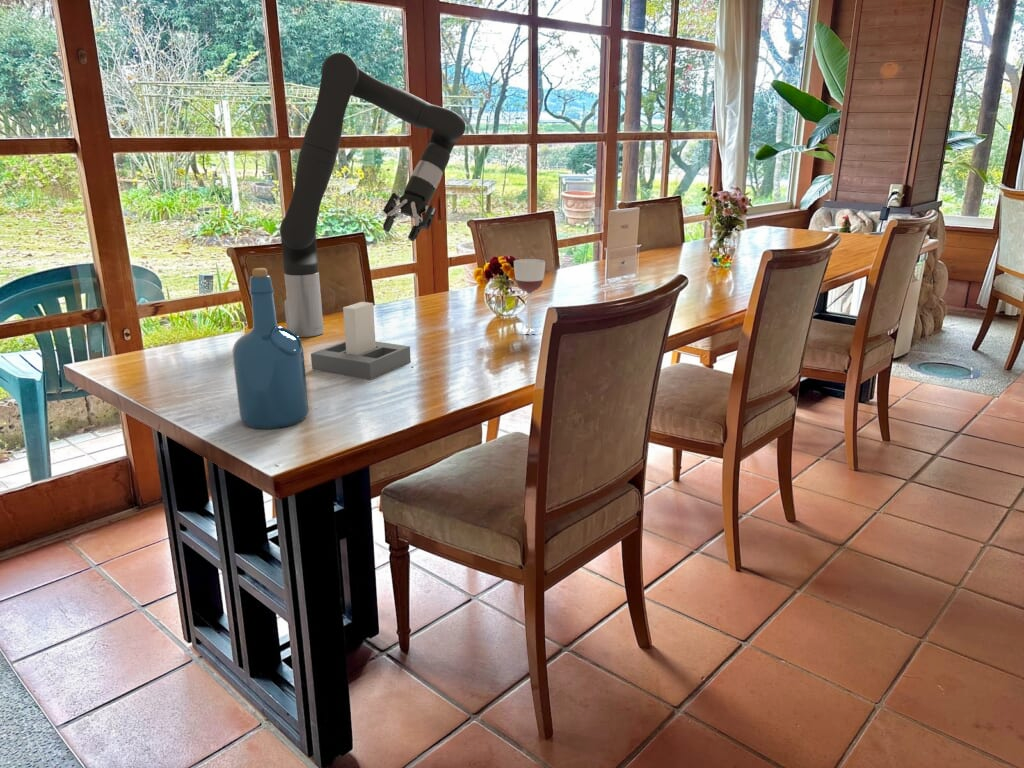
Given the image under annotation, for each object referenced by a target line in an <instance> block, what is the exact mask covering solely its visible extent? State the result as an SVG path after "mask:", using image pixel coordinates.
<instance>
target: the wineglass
mask: <svg viewBox="0 0 1024 768" xmlns="http://www.w3.org/2000/svg"><path fill="white" fill-rule="evenodd" d="M545 269H546V261H545V260H543V259H538V258H521V259H516V260H513V270H514V277H515V283H516V285H517V287H518V288H519V289H520V290H522V291H524V292H526V293H527V328H523V329H524V330H522V331H523V332H531V331H535V330H533V329H534V328H531V323H532V321H531V319H532V317H531V316H532V315H531V310H532V308H531V307H532V306H531V305H532V303H531V302H532V299H531V297H532V295H531V294H532V293H533V292H535V291H537V290H539V289H540V288H541V287H542V285H543V282H544V278H545V271H546V270H545Z"/></svg>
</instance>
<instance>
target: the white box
mask: <svg viewBox="0 0 1024 768" xmlns="http://www.w3.org/2000/svg"><path fill="white" fill-rule="evenodd" d="M374 311H375V310H374V303H373V302H367V301H359V302H356V303H354V304H350V305H346V306H343V307H342V312H343V313H342V315H343V326H344V340H345V342H346V354H351V355H357V356H358V355H360V354H363V353H365V352H368V351H370V350H373V349H375V348H376V343H375V341H376V329H375V328H376V327H375V314H374V313H375V312H374Z"/></svg>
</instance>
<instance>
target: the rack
mask: <svg viewBox="0 0 1024 768" xmlns="http://www.w3.org/2000/svg"><path fill="white" fill-rule="evenodd" d="M375 343H376V348H375V349H373V350H370V351H368V352H365V353H363V354H360V355H358V356H357V355H351V354H346V342H345V341H342V342H338V343H336V344H333V345H331V346H328V347H325V348H322V349H320V350H317V351H313V352H312V353H310V360H311V370H312V369H313V371H317V370H318V371H319V372H324V373H329V374H336V375H341V376H348V377H353V378H359V379H364V380H370V381H371V380H373V379H376V378H378V377H380V376H383V375H385V374H387V373H389V372H392V371H394V370H395V369H398V368H400V367H403V366H405V365H407V364H410V363H411V361H412V360H411V346H409V345H404V344H403V345H401V344H395V343H390V342H389V343H388V342H383V341H376V340H375Z"/></svg>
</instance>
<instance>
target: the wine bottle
mask: <svg viewBox="0 0 1024 768" xmlns="http://www.w3.org/2000/svg"><path fill="white" fill-rule="evenodd" d="M251 274H252V275H251V276H250V277H249V294H250V296H251V310H252V314H251V315H252V325H253V326H252V328H251V330H250V331H249V332H247V333H245V334H244V335H241V337H239V338H238V339H237V340H236V341H235V343H234V344H233V347H232V350H231V353H232V360H233V362H232V363H233V369H234V370H233V371H234V378H235V386H236V394H237V405H238V410H239V416H240V417H239V418H240V421H241V422H242V424H243V425H244V426H247V427H250V428H253V429H271V430H272V429H277V428H285V427H290V426H292V425H295V424H297V423H300V422H302V421H303V420H304V419H305V418H306V417H307V416H308V414H309V409H310V408H309V401H308V389H307V377H306V365H305V356H304V354H305V353H304V348H303V343H302V340H301V337H298V336H297V335H296V334H295V333H293V332H292V331H290V330H288V329H287V327H283V326H278V322H277V314H276V313H277V312H276V306H275V298H274V293H275V290H274V287H273V282H272V277H271V275H270V274H268V269H267V268H265V267H256V268H253V269H251Z"/></svg>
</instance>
